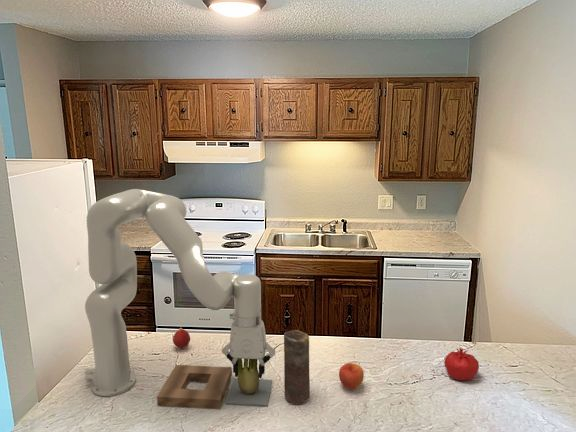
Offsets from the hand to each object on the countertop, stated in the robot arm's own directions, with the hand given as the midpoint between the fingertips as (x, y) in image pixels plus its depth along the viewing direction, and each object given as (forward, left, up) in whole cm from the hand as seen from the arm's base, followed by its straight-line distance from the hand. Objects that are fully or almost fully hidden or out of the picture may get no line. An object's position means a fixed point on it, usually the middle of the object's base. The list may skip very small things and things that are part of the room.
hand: (249, 374), depth 124 cm
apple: (+30, +5, -6) cm, 31 cm away
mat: (0, 0, -6) cm, 6 cm away
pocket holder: (-16, 0, -6) cm, 17 cm away
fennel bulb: (0, 0, -6) cm, 6 cm away
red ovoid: (-28, +23, -6) cm, 37 cm away
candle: (+14, -1, -6) cm, 15 cm away
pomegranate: (+65, +14, -6) cm, 67 cm away
